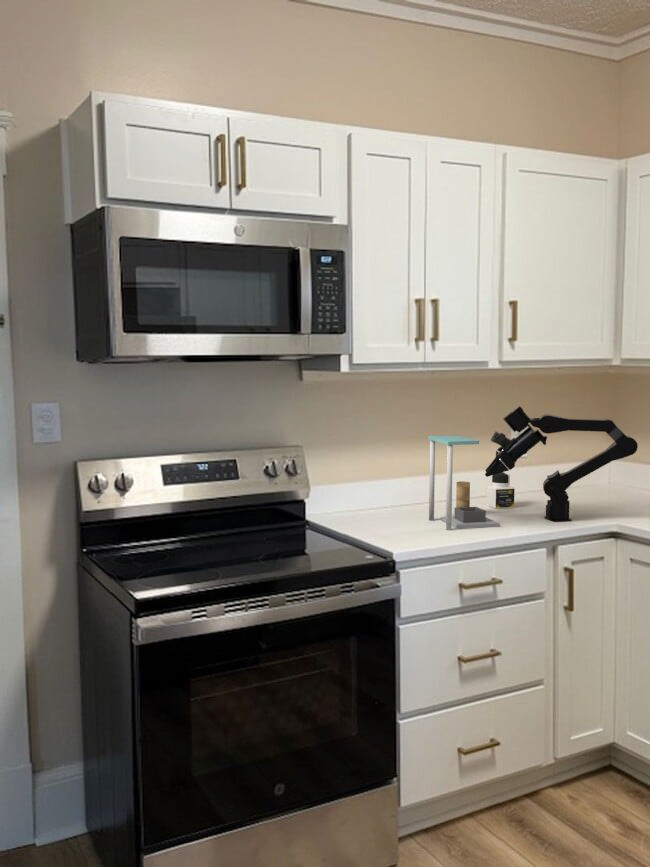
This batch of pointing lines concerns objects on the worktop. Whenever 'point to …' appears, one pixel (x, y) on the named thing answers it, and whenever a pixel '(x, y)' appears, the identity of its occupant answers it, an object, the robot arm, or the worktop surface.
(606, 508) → the worktop surface
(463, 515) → the awning socket
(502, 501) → the medicine bottle
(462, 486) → the tan domed cylinder
